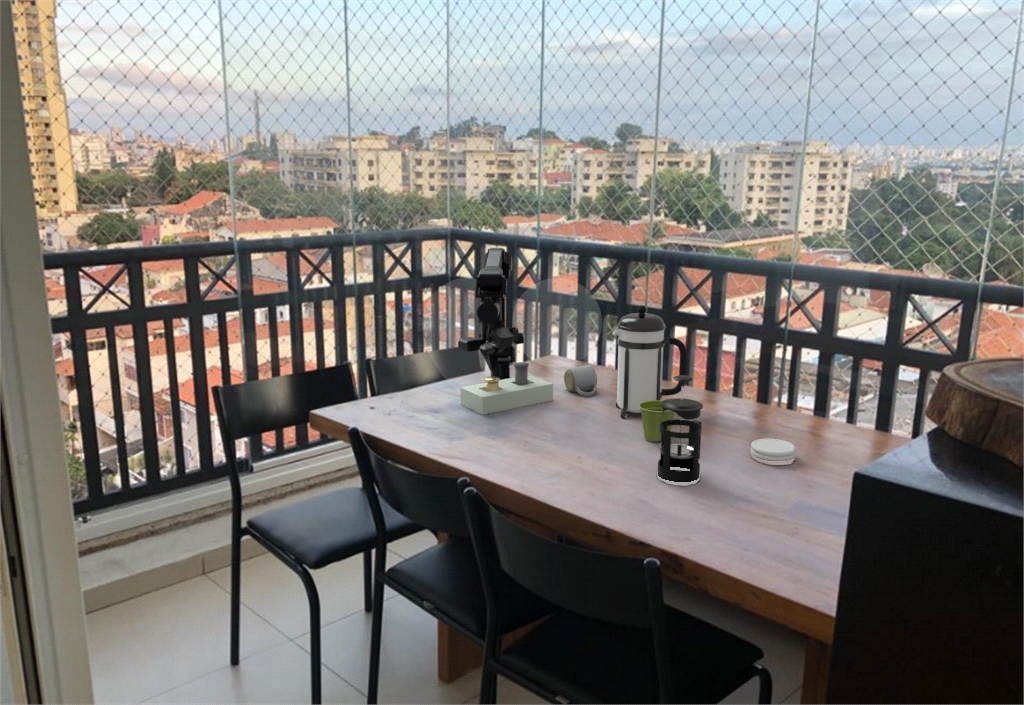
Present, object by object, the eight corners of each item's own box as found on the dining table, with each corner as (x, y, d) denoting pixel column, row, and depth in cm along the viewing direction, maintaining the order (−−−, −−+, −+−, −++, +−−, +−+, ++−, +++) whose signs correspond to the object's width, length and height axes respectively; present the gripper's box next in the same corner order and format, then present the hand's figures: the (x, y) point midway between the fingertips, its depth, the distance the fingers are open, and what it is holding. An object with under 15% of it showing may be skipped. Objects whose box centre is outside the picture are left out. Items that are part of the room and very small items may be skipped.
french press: (680, 490, 166) (685, 385, 161) (645, 477, 173) (649, 376, 168) (713, 476, 174) (719, 375, 168) (679, 464, 181) (683, 367, 175)
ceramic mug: (562, 388, 241) (562, 364, 239) (586, 385, 244) (586, 361, 242) (577, 398, 232) (578, 373, 230) (602, 395, 235) (603, 370, 233)
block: (460, 404, 227) (460, 387, 225) (529, 390, 239) (529, 374, 238) (482, 414, 217) (482, 397, 216) (552, 400, 230) (553, 383, 228)
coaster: (765, 469, 178) (766, 454, 177) (741, 453, 188) (742, 440, 187) (804, 464, 181) (805, 450, 180) (778, 449, 190) (779, 435, 189)
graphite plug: (511, 388, 231) (511, 363, 229) (523, 386, 233) (523, 361, 231) (519, 392, 227) (519, 366, 225) (531, 389, 230) (531, 364, 228)
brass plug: (482, 403, 226) (481, 377, 224) (494, 401, 228) (494, 375, 226) (490, 407, 223) (489, 381, 221) (502, 404, 225) (502, 378, 223)
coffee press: (645, 425, 207) (649, 313, 200) (600, 411, 219) (602, 305, 212) (685, 412, 218) (690, 305, 211) (640, 399, 230) (644, 297, 223)
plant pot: (630, 439, 197) (631, 406, 195) (651, 429, 204) (652, 397, 202) (662, 448, 191) (663, 413, 189) (682, 438, 198) (684, 405, 196)
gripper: (477, 324, 208) (478, 382, 211) (535, 317, 218) (535, 371, 221) (456, 318, 217) (457, 373, 220) (513, 311, 227) (513, 363, 230)
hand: (491, 370), depth 223 cm, fingers closed
